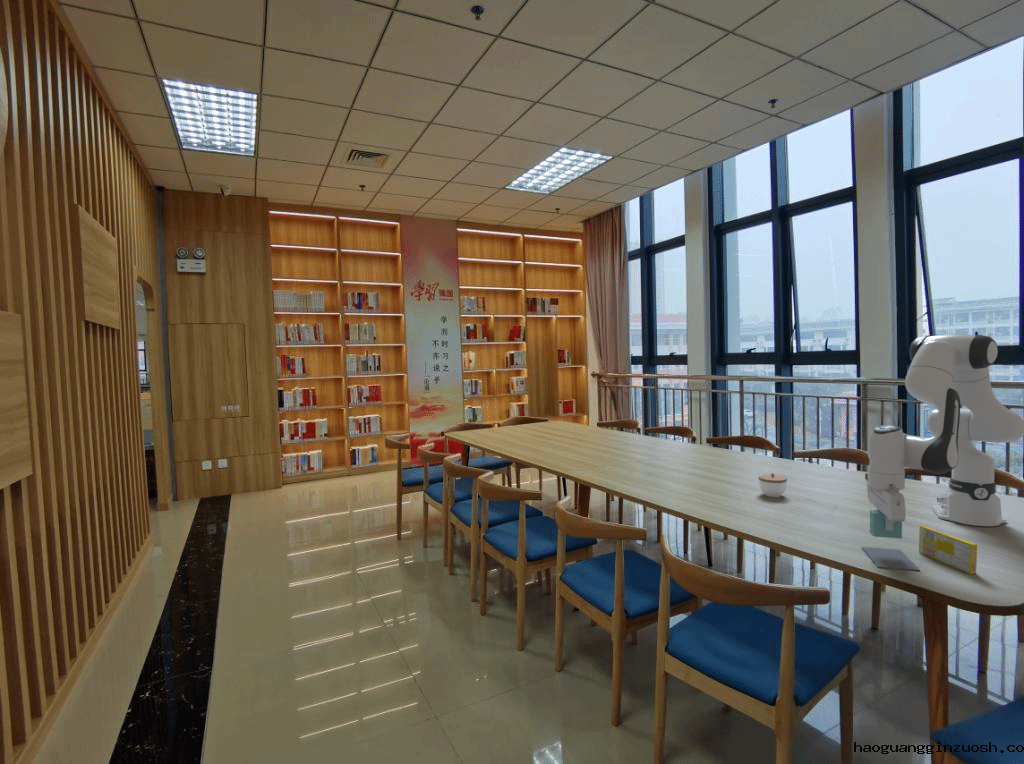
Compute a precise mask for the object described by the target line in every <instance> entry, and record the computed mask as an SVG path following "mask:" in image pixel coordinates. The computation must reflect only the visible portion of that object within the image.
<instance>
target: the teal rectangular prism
mask: <svg viewBox="0 0 1024 764" xmlns="http://www.w3.org/2000/svg"><path fill="white" fill-rule="evenodd" d="M885 521H886V518H885V515H884V514H883V513H882V512H880V511H879V510H877V509H869V533H870V534H871V535H872V536H873V537H875V538H876V537H877V538H889V539H903V538H902V537H903V522H902V521H895V522H894V525H893V530H886V529H885V527H884V523H885Z"/></svg>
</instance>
